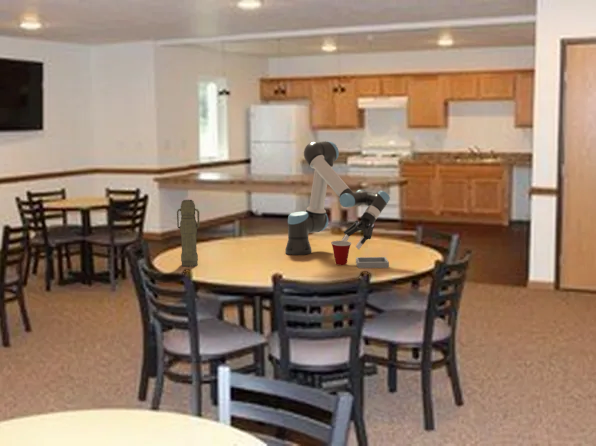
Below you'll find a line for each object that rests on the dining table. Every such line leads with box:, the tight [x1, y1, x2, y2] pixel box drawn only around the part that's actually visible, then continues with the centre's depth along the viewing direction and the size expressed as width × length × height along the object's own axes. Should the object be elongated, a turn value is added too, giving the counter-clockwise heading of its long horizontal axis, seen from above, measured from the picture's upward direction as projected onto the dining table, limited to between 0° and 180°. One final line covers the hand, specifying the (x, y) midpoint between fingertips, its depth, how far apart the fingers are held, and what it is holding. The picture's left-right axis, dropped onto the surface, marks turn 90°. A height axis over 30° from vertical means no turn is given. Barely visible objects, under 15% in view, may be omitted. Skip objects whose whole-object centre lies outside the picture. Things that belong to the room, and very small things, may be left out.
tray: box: [355, 256, 390, 269], centre depth 422 cm, size 16×16×3 cm
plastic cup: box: [331, 240, 352, 266], centre depth 424 cm, size 11×11×12 cm
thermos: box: [176, 199, 200, 268], centre depth 426 cm, size 9×12×35 cm
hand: (349, 246), depth 425 cm, fingers open, 13 cm apart
